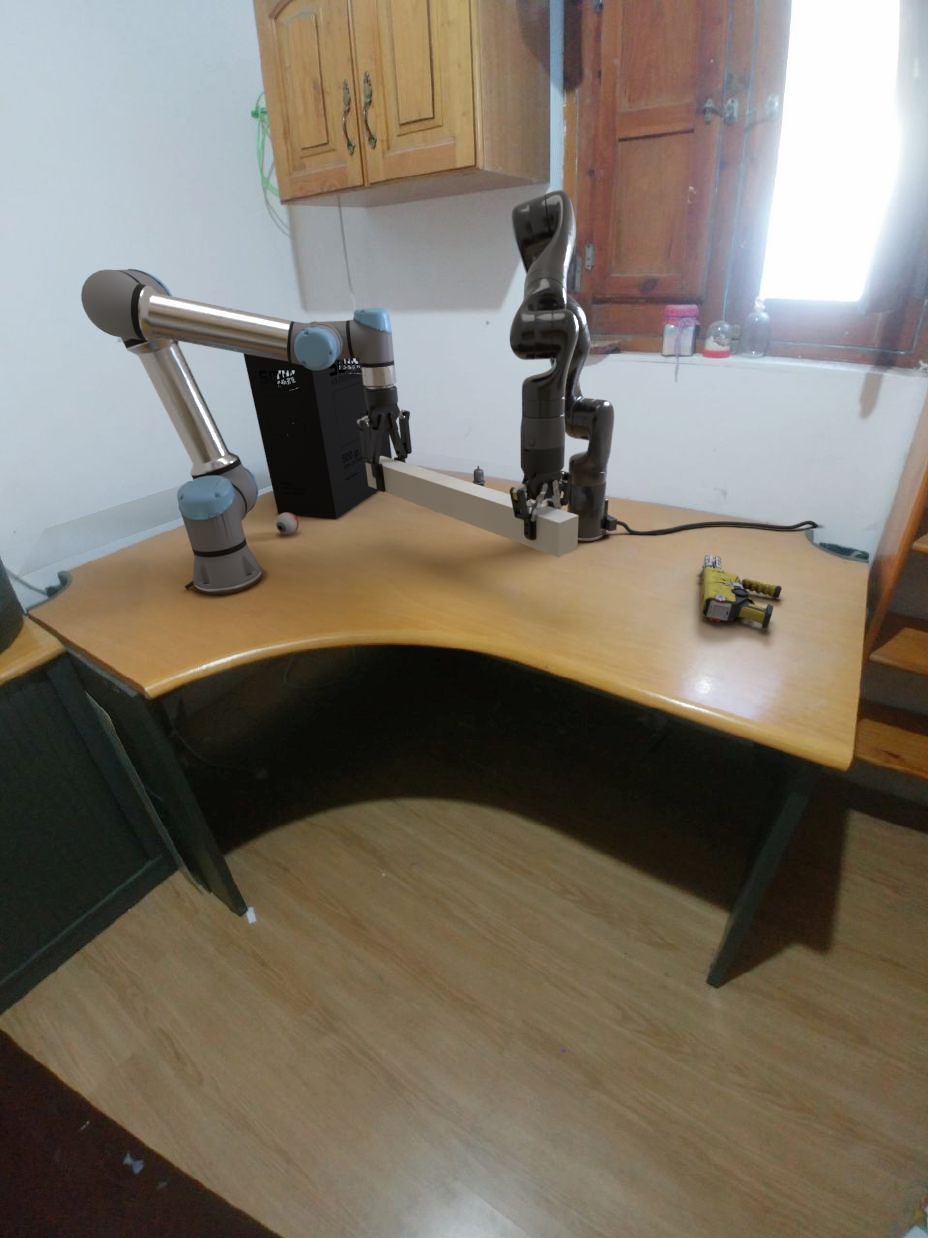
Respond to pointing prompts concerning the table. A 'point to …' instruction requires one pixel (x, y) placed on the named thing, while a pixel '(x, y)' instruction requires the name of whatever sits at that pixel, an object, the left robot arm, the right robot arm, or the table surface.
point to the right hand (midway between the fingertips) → (541, 534)
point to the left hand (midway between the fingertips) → (391, 487)
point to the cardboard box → (312, 434)
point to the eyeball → (287, 523)
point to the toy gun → (732, 595)
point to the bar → (477, 506)
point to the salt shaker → (479, 477)
